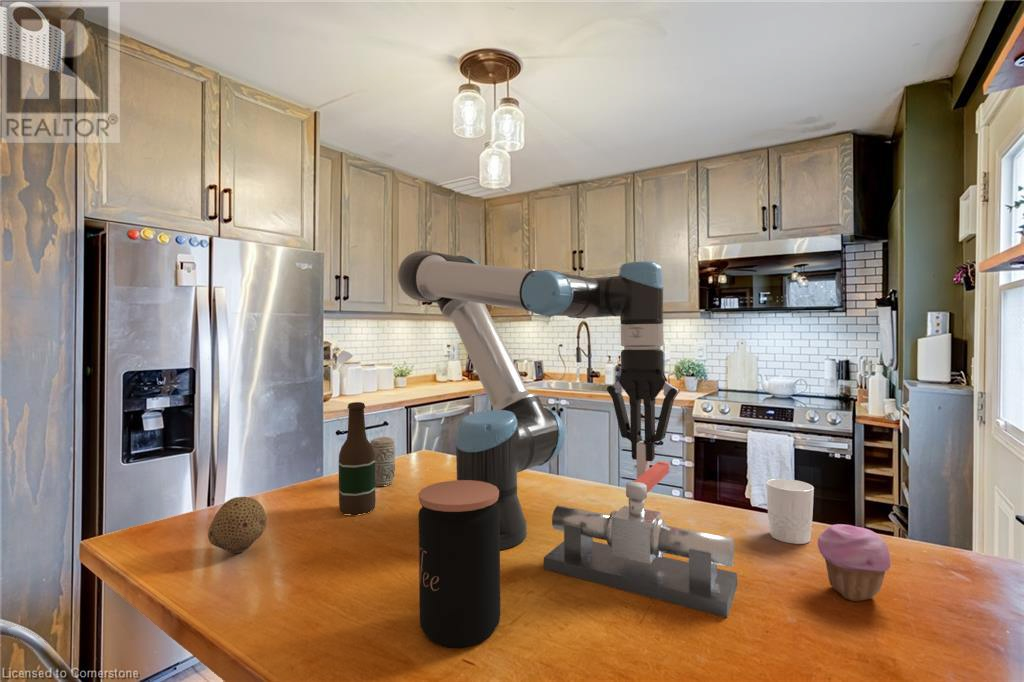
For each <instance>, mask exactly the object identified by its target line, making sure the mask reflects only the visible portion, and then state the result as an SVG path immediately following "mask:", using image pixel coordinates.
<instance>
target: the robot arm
mask: <svg viewBox="0 0 1024 682" xmlns="http://www.w3.org/2000/svg"><path fill="white" fill-rule="evenodd" d="M397 278H398V279H397V280H398V284H399V286H400V289H401V290H402V291H403V292H404V294H405V295H407V297H409V298H411V299H413V300H415V301H419V302H423V303H424V302H425V303H435V304H437V306H438V308H439V311H440V312H441V315H442V316H443V318H445V319H447V320H451V321H452V322H453V324H454V327H455V329H456V331H457V333H458V336H459V337H460V340H461V342H462V344H463V346H464V348H465V351H466V353H467V354H468V357H469V359H470V361H471V363H472V366H473V368H474V369H475V370H474V371H475V372H476V374H477V376H478V378H479V381H480V383H481V385H482V387H483V389H484V391H485V393H486V396H487V398H488V400H489V402H490V405H491V407H492V409H488V410H485V411H482V410H481V411H478V412H473V413H470V414H468V415H465V416H464V417H462V418H461V419H460V420H459V421H458V422H457V425H456V437H455V446H456V448H455V451H456V452H455V454H456V457H455V458H456V460H455V461H456V480H473V481H482V482H486V483H490V484H492V485H494V486H496V487H497V488H498V490H499V497H498V500H497V501H496V504H497V506H498V507H499V512H500V551H501V550H505V549H510V548H513V547H516V546H517V545H519V544H521V543H522V542H524V541H525V539H527V534H528V533H527V530H528V528H527V520H526V518H525V516H524V512H523V508H522V505H521V503H520V498H519V497H518V473H521V472H523V471H526V470H528V469H533V468H535V467H538V466H539V467H540V466H543V465H544V464H545V465H546V464H547V463H548V462H549V461H552V460H553V459H555V458H556V457H558V455H559V454H560V452H561V451H562V449H563V445H564V442H565V439H566V438H565V435H566V434H565V427H564V423H563V421H562V418H561V417H560V416H559V415H558V413H556V411H554V410H551V409H550V408H547V407H544V405H543V402H542V401H541V399H540V398H539V395H538V394H537V393H534V392H533V393H532V392H530V391H529V390H528V389H527V387H526V384H525V383H524V381H523V379H522V377H521V375H520V373H519V370H518V369H517V366H516V364H515V362H514V361H513V358H512V356H511V354H510V352H509V350H508V348H507V346H506V345H505V342H504V340H503V338H502V336H501V334H500V332H499V330H498V328H497V326H496V324H495V322H494V320H493V318H492V316H491V314H490V312H489V309H488V308H487V305H488V306H489V305H490V306H496V307H500V308H501V307H502V308H507V309H514V310H519V311H520V310H521V311H526V312H531V313H533V314H535V315H536V314H537V315H538V316H539V315H540V316H544V317H545V316H546V317H554V316H559V317H560V316H561V317H568V318H572V319H582V320H585V319H589V318H591V319H592V318H608V317H609V318H610V317H614V318H615V317H619V318H620V319H619V320H620V346H621V347H623V348H624V349H622V350H621V351H620V371H621V372H620V375H619V376H618V381H616V382H615V383H613V384H611V385H608V386H607V387H606V391H607V392H608V394H609V396H610V397H611V399H612V403H613V408H614V412H615V416H616V419H617V424H618V429H619V432H620V435H621V437H622V438H623V439H627V440H629V441H630V444H631V445H630V446H631V458H632V460H636V479H637V478H638V477H640V476H641V475H642V474H643V473H645V472H646V471H647V470H648V469H649V468H650V462H653V461H654V459H655V457H656V456H655V454H656V453H655V452H656V451H655V443H656V442H661V441H662V440H663V439H665V438H666V434H667V430H668V426H669V423H670V417H671V413H672V409H673V405H674V400H675V399H676V397H677V396H678V394H679V393H680V388H679V387H677V386H673V385H671V384H670V383H669V382H668V381H667V380H668V379H667V377H666V375H665V372H664V371H665V368H664V366H665V361H664V359H665V357H664V356H665V355H664V350H663V349H661V347H663V346H664V289H665V288H664V283H663V282H664V280H663V269H662V267H661V265H660V264H659V263H657V262H654V261H632V262H631V261H630V262H627V263H626V262H625V263H623V264H621V266H620V267H619V273H618V275H615V276H609V277H607V276H606V277H587V276H581V275H575V274H569V273H563V272H559V271H557V270H556V271H555V270H550V269H544V270H543V269H540V270H537V269H536V270H535V269H528V268H521V267H520V268H519V267H509V266H500V265H499V266H497V265H488V264H480V263H479V262H478V261H477V260H475V259H472V258H470V257H467V256H464V255H451V254H447V253H440V252H435V251H431V250H418V251H415V252H412V253H410V254H409V255H407V256H406V257H405V258H404V259H402V261H401V263H400V265H399V268H398V271H397ZM623 390H624V392H625V393H626V395H627V396H628V399H629V403H628V404H629V406H630V408H629V409H630V410H629V411H630V414H629V415H630V418H629V416H628V412H627V408H626V405H625V401H624V396H623V394H622V393H623ZM662 390H663V395H664V398H663V401H662V404H661V410H660V414H659V419H658V423H657V426H656V411H655V410H656V409H655V408H656V407H655V405H656V398H657V397H658V395H659V394H661V393H660V392H662ZM642 400H643V401H642ZM642 402H643V411H644V412H643V413H644V414H643V415H644V417H643V419H644V440H641V439H642V438H643V436H642ZM629 420H630V421H629Z"/></svg>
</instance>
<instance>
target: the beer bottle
mask: <svg viewBox="0 0 1024 682" xmlns="http://www.w3.org/2000/svg"><path fill="white" fill-rule="evenodd" d="M365 405H366V404H365V403H364V402H359V401H355V402H349V403H348V404H347V408H346V409H348V419H347V420H348V422H347V425H348V426H347V434H346V440H345V441H344V443H343V444H342V445H341V448H340V450H339V453H338V506H339V512H340V511H341V512H342V513H343V514H351V515H358V514H363V513H368V512H370V511H371V510H372V511H374V510H375V509H374V508H376V486H375V454H374V450H373V447H372V445H371V444H370V443H371V441H369V439H368V437H367V433H366V422H365V421H366V420H365V408H366V406H365ZM373 509H374V510H373ZM372 511H371V512H372ZM341 512H340V513H341ZM371 512H370V513H371ZM342 513H341V514H342ZM343 514H342V515H343ZM368 514H369V513H368Z"/></svg>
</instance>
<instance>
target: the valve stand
mask: <svg viewBox="0 0 1024 682" xmlns="http://www.w3.org/2000/svg"><path fill="white" fill-rule="evenodd" d="M661 514H662V513H661V511H656V510H652V509H646V508H645V499H640V500H637V499H630V498H628V505H624V506H622V507H621V508H620V509H619V510H612V511H611V512H610V514H606V513H602V512H601V513H600V512H597V511H596V512H595V511H591V510H586V509H579V508H574V507H569V506H564V505H559V504H558V505H556V506H555V508H554V509H553V512H552V516H551V525H552V529H553V530H556V531H560V532H563V541H562V542H561V543H560V544H558V545H557V546H556V547H555V548H553V549H552V550H551V551H549V552H548V553H547V554H546V555H545V556H544V557H543V570H545V569H546V571H549V572H553V571H554V572H553V573H556V572H557V574H560V575H564V576H568V577H573V578H576V579H580V580H582V581H583V580H584V581H588V582H591V583H595V584H599V585H602V586H605V587H610V588H612V589H617V590H621V591H625V592H629V593H633V594H636V595H641V596H643V597H648V598H652V599H655V600H658V601H663V602H667V603H670V604H674V605H678V606H682V607H684V608H685V607H686V608H689V609H692V610H696V611H701V612H704V613H708V614H711V615H716V616H720V617H723V618H728V616H729V613H730V610H731V607H732V604H733V600H734V597H735V594H736V592H737V587H738V573H737V572H736V571H735V572H734V571H730V570H725V569H720V568H717V567H718V566H724V567H728V568H733V565H734V559H735V540H734V537H731V536H725V535H719V534H714V533H709V532H704V531H698V530H693V529H687V528H682V527H676V526H671V525H667V521H666V520H665V519H662V518H661V516H662V515H661ZM593 539H598V540H603V541H606V542H607V543H602V542H598V541H593ZM664 554H668V555H672V556H676V557H682V558H687V559H688V561H684V560H679V559H674V558H671V557H666V556H664Z"/></svg>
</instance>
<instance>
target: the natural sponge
mask: <svg viewBox="0 0 1024 682" xmlns="http://www.w3.org/2000/svg"><path fill="white" fill-rule="evenodd" d="M267 520H268V519H267V515H266V510H265V509H264V507H263V506H262V503H260V502H259V501H258V500H256V499H255V498H253V497H249V496H236V497H233V498H230V499H229V500H227V501H226V502H224V504H222V505H221V507H220V508H219V509H218V510H217V512H216V514H215V515H214V518H213V520H212V521H211V524H210V525H209V528H208V531H207V538H208V542H209V543H210V544H211V545H212V546H214V547H216V548H219V549H222V550H224V551H226V552H228V553H232V554H241V553H243V552H245V551H247V550H248V549H249V548H250V547H251V546H252V545H253V544H254V543H255V542H256V541H257V540H258V539H259V538H260V537H261V536H262V535H263V533H264V531H265V529H266V527H267V523H268V522H267ZM240 552H241V553H240Z"/></svg>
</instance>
